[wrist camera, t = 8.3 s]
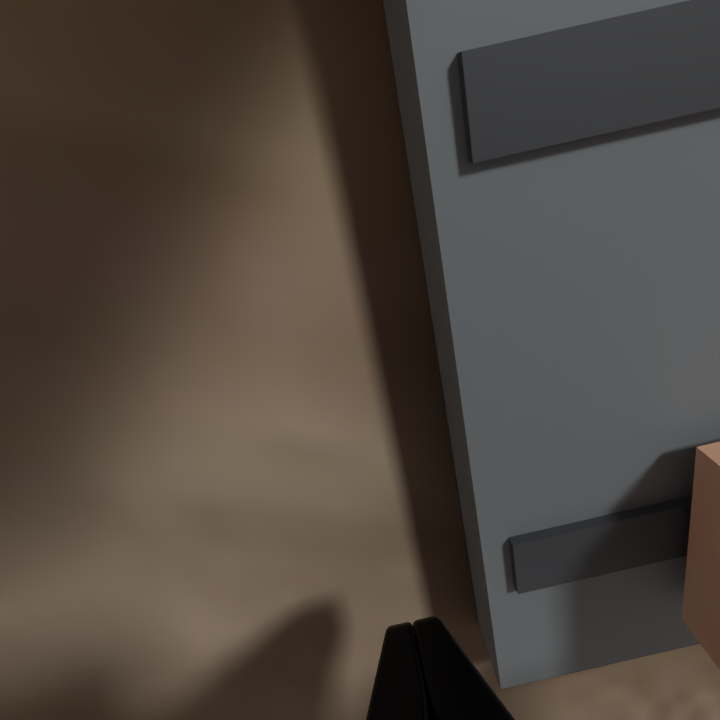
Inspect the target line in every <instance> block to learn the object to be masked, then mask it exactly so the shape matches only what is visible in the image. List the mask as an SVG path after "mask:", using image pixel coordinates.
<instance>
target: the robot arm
mask: <svg viewBox="0 0 720 720" xmlns="http://www.w3.org/2000/svg"><path fill="white" fill-rule="evenodd" d="M413 629H414V630H413ZM414 633H415V634H414ZM366 720H514V718H513V717H512V716H511V714H510V713H509V712H508V710H507V709H506V708H505V706H504V705H503V704H502V702H501V701H500V700H499V698H498V697H497V696H496V694H495V693H494V692H493V690H492V689H491V688H490V686H489V685H488V684H487V682H486V681H485V680H484V678H483V677H482V676H481V674H480V673H479V671H478V670H477V669H476V667H475V666H474V665H473V663H472V662H471V661H470V659H469V658H468V657H467V655H466V654H465V653H464V651H463V650H462V649H461V647H460V646H459V645H458V643H457V642H456V641H455V639H454V638H453V637H452V635H451V634H450V633H449V631H448V630H447V629H446V627H445V626H444V625H443V623H442V622H441V621H440V620H439V619H438V618H437V617H435V616H432V617H428V618H423V619H419V620H416V621H415V622H414V623H413V626H412V624H411V623H409V622H406V623H402V624H397V625H393V626H389V627H388V628H387V630H386V633H385V637H384V641H383V646H382V651H381V655H380V660H379V664H378V669H377V673H376V678H375V682H374V687H373V691H372V696H371V700H370V705H369V709H368V714H367V718H366Z"/></svg>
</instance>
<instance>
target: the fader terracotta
mask: <svg viewBox="0 0 720 720" xmlns="http://www.w3.org/2000/svg"><path fill="white" fill-rule="evenodd" d="M682 620H683V622H684V623H685V624H686V626H687V627H688V628H689V630H690V631H691V632H692V634H693V635H694V636H695V637H696V639H697V640H698V641H699V643H700V644H701V645H702V647H703V648H704V649H705V651H706V652H707V653H708V655H709V656H710V657H711V659H712V660H713V661H714V662H715V664H716V665H717V666H718V668H719V669H720V442H715V443H711V444H707V445H702V446H698V447H696V457H695V469H694V481H693V492H692V504H691V516H690V527H689V539H688V550H687V562H686V574H685V585H684V597H683V609H682Z"/></svg>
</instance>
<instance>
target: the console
mask: <svg viewBox="0 0 720 720" xmlns="http://www.w3.org/2000/svg"><path fill="white" fill-rule="evenodd" d="M383 4H384V10H385V17H386V23H387V30H388V36H389V43H390V49H391V56H392V62H393V69H394V75H395V82H396V88H397V95H398V101H399V108H400V114H401V121H402V127H403V134H404V140H405V147H406V153H407V160H408V166H409V173H410V179H411V186H412V192H413V199H414V205H415V212H416V218H417V225H418V231H419V238H420V244H421V251H422V257H423V264H424V270H425V277H426V283H427V290H428V296H429V303H430V309H431V316H432V322H433V329H434V335H435V342H436V348H437V355H438V361H439V368H440V374H441V381H442V387H443V394H444V400H445V407H446V413H447V420H448V426H449V433H450V439H451V446H452V452H453V459H454V465H455V472H456V478H457V485H458V491H459V498H460V504H461V511H462V517H463V524H464V530H465V537H466V543H467V550H468V557H469V563H470V570H471V576H472V583H473V589H474V596H475V602H476V609H477V615H478V622H479V627H480V630H481V633H482V636H483V639H484V642H485V644H486V647H487V650H488V653H489V656H490V659H491V662H492V665H493V667H494V670H495V673H496V676H497V679H498V682H499V685H500V688H501V689H504V688H509V687H513V686H517V685H522V684H526V683H530V682H535V681H539V680H544V679H548V678H552V677H557V676H561V675H565V674H570V673H574V672H578V671H583V670H587V669H591V668H596V667H600V666H604V665H609V664H613V663H617V662H622V661H626V660H630V659H635V658H639V657H644V656H648V655H652V654H657V653H661V652H665V651H670V650H674V649H678V648H683V647H687V646H691V645H696V644H700V643H699V641H698V640H697V639H696V637H695V636H694V635H693V634H692V632H691V631H690V630H689V628H688V627H687V626H686V624H685V623H684V622H683V620H682V609H683V597H684V585H685V574H686V562H687V550H688V539H689V527H690V516H691V504H692V492H693V481H694V469H695V457H696V447H698V446H702V445H707V444H711V443H715V442H720V0H383Z"/></svg>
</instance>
